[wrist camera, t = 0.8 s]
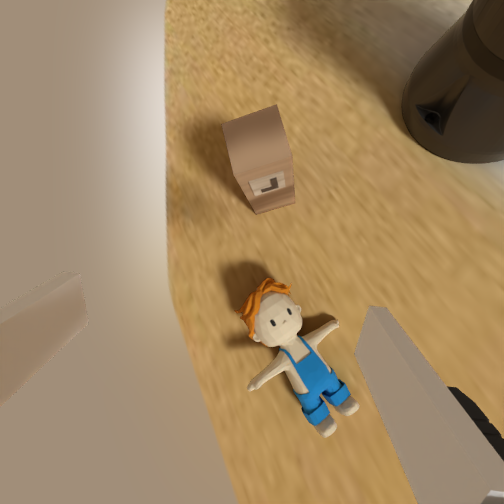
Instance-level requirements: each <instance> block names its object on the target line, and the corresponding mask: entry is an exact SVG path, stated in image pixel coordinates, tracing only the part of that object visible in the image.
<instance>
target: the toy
mask: <svg viewBox="0 0 504 504" xmlns="http://www.w3.org/2000/svg"><path fill="white" fill-rule="evenodd" d="M291 284H292V282H291ZM290 287H291V285H290V286H289V287H288V286H287V285H284V284H282V283H275V281H274V279H271V278H267V279H265V280H264V281H263V282H262V283H261V285H260V286H258V287H257V289H256V291H255V292H253V293H251V294H250V295H249V297H248V298H247V300H246V301H245V303H244V304H243V306H242V307H241V309H240V310H239V311H236V310H235V312H236V313H242V312H243V315H242V317H240V319H242V320H244V322H245V323H246V325H247V326H248V328H249V337H250V338H251V339H253V340H254V341H255V342H259V341H260V342H261V343H262V344H263V345H264V346H266V347H268V346H269V347H275V346H278V345H279V346H280V348H279V353H278V355H277V357H276V358H275V359H274V360H273V361H272V362H271V363H270V364H269V365H268V366H267V367H266V368H265V369H264V370H263V371H261V372H260V373H259V374H258V375H257V376H256V377H254V378H253V379H252V380H251V381H250V383H249V384H248V388H247V389H248V390H249V391H252V390H255V389H259V388H260V386H261V385H262V384H263V383H265V382H266V381H268V380H269V379H271V378H272V377H274V376H276V375H277V374H279V373H281V372H283V371H285V372H286V374H287V376H288V378H289V380H290V382H291V385H292V387H293V391H294V393H295V395H296V396H297V397H298V399H299V401H300V403H301V405H302V408H301V409H302V412H303V414H304V415H305V417H306V418H307V420H308V421H309V423H311V424H312V425H314V427H315V429H316V430H317V432H318V433H319V434H320V435H321V436H322V437H328V436H330V435H331V434H332V433H333V432H334V431H335V430H336V428H337V424H336V422H335V421H334V419H333V418H332V417H331V416H330V414H329V413H330V412H329V410H328V408H327V406H326V404H325V402H324V401H323V400H322V398H321V397H320V396H319V395H320V394H321V393H322V395H323V396H324V397H325V398H326V400H327V401H328V402H329V403H330V404H332V405H333V406H334V408H335V409H336V411H338V412H339V413H340V414H342V415H345V416H350V415H352V414H353V413H355V412H356V411H357V410H358V408H359V404H358V402H357V401H356V400H355V399H354V398H352V397H351V396H350V395H351V394H350V392H349V390H348V388H347V386H346V384H345V383H344V382H342V381H341V380H340V379H337V376H336V374H335V372H334V370H333V369H332V368H331V367H329V366H328V364H327V363H326V362H325V360H324V359H323V358H322V356H321V355H320V353H319V352H318V350H317V344H318V343H319V342H320V341H321V340H322V339H323V338H324V337H325V336H326V335H327V334H328V333H330V332H331V331H332V330H334V329H336V328H338V327H339V321H338V320H331V321H329V322H327V323H326V324H324V325H323V326H321V327H320V328H318V329H316V330H314V331H312V332H310V333H308V334H307V335H305V336H302V337H301V336H297V332H298V331H299V330H300V329H301V327H302V318H301V315H300V312H301V307H300V306H299V305H295V304H294V302H293V301H292V300H291V299H290V298H289V297H290V296H289V295H288V292H289V293H290V291H289V289H290ZM290 294H291V293H290ZM288 296H289V297H288Z"/></svg>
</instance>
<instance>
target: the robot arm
mask: <svg viewBox="0 0 504 504" xmlns="http://www.w3.org/2000/svg"><path fill="white" fill-rule="evenodd" d="M402 114H403V118H404V121H405V124H406V126H407V128H408V130H409V131H410V133H411V134H412V136H413V137H414V138H415V139H416V140H417V141H418V142H419V143H420V144H421V145H422V146H423V147H425V148H426V149H428V150H429V151H431V152H432V153H434V154H436V155H438V156H440V157H443V158H446V159H449V160H452V161H457V162H462V163H490V162H496V161H500V160H504V0H473V1H472V3H471V5H470V6H469V8H468V9H467V11H466V12H465V13H464V14H463V16H462V17H461V18H460V19H459V20H458V21H457V22H456V23H455V24H454V25H453V26H452V27H451V28H450V29H449V30H448V31H447V32H446V33H445V34H444V35H443V36H442V37H441V38H440V39H439V40H438V41H437V42H436V43H435V44H434V45H433V46H432V47H431V48H430V49H429V50H428V51H427V52H426V53H425V54H424V56H423V57H422V58H421V59H420V61H419V62H418V64H417V65H416V67H415V69H414V70H413V72H412V74H411V76H410V78H409V80H408V82H407V84H406V87H405V89H404V93H403V97H402ZM88 323H89V322H88V317H87V311H86V305H85V300H84V294H83V288H82V282H81V276H80V273H73V272H65V271H63V272H62V273H60V274H58V275H56V276H55V277H53V278H51V279H49V280H48V281H46V282H45V283H43V284H41V285H39V286H37V287H36V288H34V289H32V290H31V291H29V292H27V293H25V294H24V295H22V296H21V297H18V298H17V299H15V300H13V301H12V302H10V303H8V304H6V305H5V306H3V307H1V308H0V407H1V406H2V405H3V404H4V403H5V402H6V401H7V400H8V399H9V398H10V397H11V396H12V395H13V394H14V393H15V392H16V391H17V390H19V389H20V388H21V387H22V386H23V385H24V384H25V383H26V382H27V381H28V380H29V379H30V378H31V377H32V376H33V375H34V374H35V373H36V372H38V371H39V370H40V369H41V368H42V367H43V366H44V365H45V364H46V363H47V362H48V361H49V360H50V359H51V358H52V357H53V356H54V355H55V354H56V353H57V352H59V350H61V349H62V348H63V347H64V346H65V345H66V344H67V343H68V342H69V341H70V340H71V339H72V338H73V337H74V336H75V335H77V334H78V332H80V331H81V330H82V329H83V328H84V327H85V326H86V325H87V324H88ZM354 355H355V357H356V359H357V362H358V364H359V366H360V369H361V371H362V373H363V376H364V378H365V380H366V383H367V385H368V387H369V390H370V392H371V394H372V397H373V399H374V401H375V404H376V406H377V408H378V411H379V413H380V416H381V418H382V420H383V423H384V425H385V427H386V430H387V432H388V434H389V437H390V439H391V441H392V444H393V446H394V448H395V451H396V453H397V455H398V458H399V460H400V462H401V465H402V467H403V469H404V472H405V474H406V476H407V479H408V481H409V483H410V486H411V488H412V491H413V493H414V495H415V498H416V500H417V502H418V504H504V439H503V438H502V437H501V434H500V433H499V431H498V430H497V429H496V428H495V427H494V425H493V424H492V423H489V419H488V418H487V417H486V416H485V415H484V413H483V412H482V411H481V410H480V408H479V407H478V406H477V405H476V404H475V402H473V401H472V400H471V399H470V398H469V397H467V396H466V395H465V394H464V393H462V392H461V391H460V390H459V389H458V388H456V387H447V386H446V385H445V384H444V382H443V381H442V380H441V379H440V377H439V376H438V375H437V373H436V372H435V371H434V369H433V368H432V367H431V365H430V364H429V363H428V361H427V360H426V359H425V358H424V356H423V355H422V354H421V352H420V351H419V350H418V348H417V347H416V346H415V344H414V343H413V342H412V340H411V339H410V338H409V337H408V335H407V334H406V333H405V331H404V330H403V329H402V327H401V326H400V325H399V323H398V322H397V321H396V319H395V318H394V317H393V316H392V314H391V313H390V312H389V310H388V309H387V308H385V307H376V306H369V308H368V311H367V314H366V317H365V321H364V324H363V327H362V330H361V334H360V337H359V340H358V343H357V346H356V350H355V353H354Z"/></svg>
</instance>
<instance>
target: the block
mask: <svg viewBox="0 0 504 504" xmlns="http://www.w3.org/2000/svg"><path fill="white" fill-rule="evenodd" d="M221 125H222V129H223V133H224V137H225V141H226V145H227V149H228V154H229V158H230V162H231V166H232V170H233V174H234V176H235V178H236V180H237V182H238V183H239V185H240V187H241V189H242V190H243V192H244V194H245V196H246V198H247V199H248V201H249V203H250V205H251V206H252V208H253V210H254V212H255V213H256V215H257V214H260V213H264V212H267V211H270V210H274V209H277V208H281V207H284V206H287V205H291V204H294V203H295V191H294V175H293V159H292V153H291V150H290V147H289V143H288V140H287V137H286V134H285V130H284V127H283V124H282V120H281V117H280V114H279V110H278V107H277V104H276V105H273V106H271V107H268V108H265V109H262V110H259V111H257V112H254V113H251V114H248V115H245V116H243V117H240V118H237V119H234V120H231V121H229V122H226V123H223V124H221Z"/></svg>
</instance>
